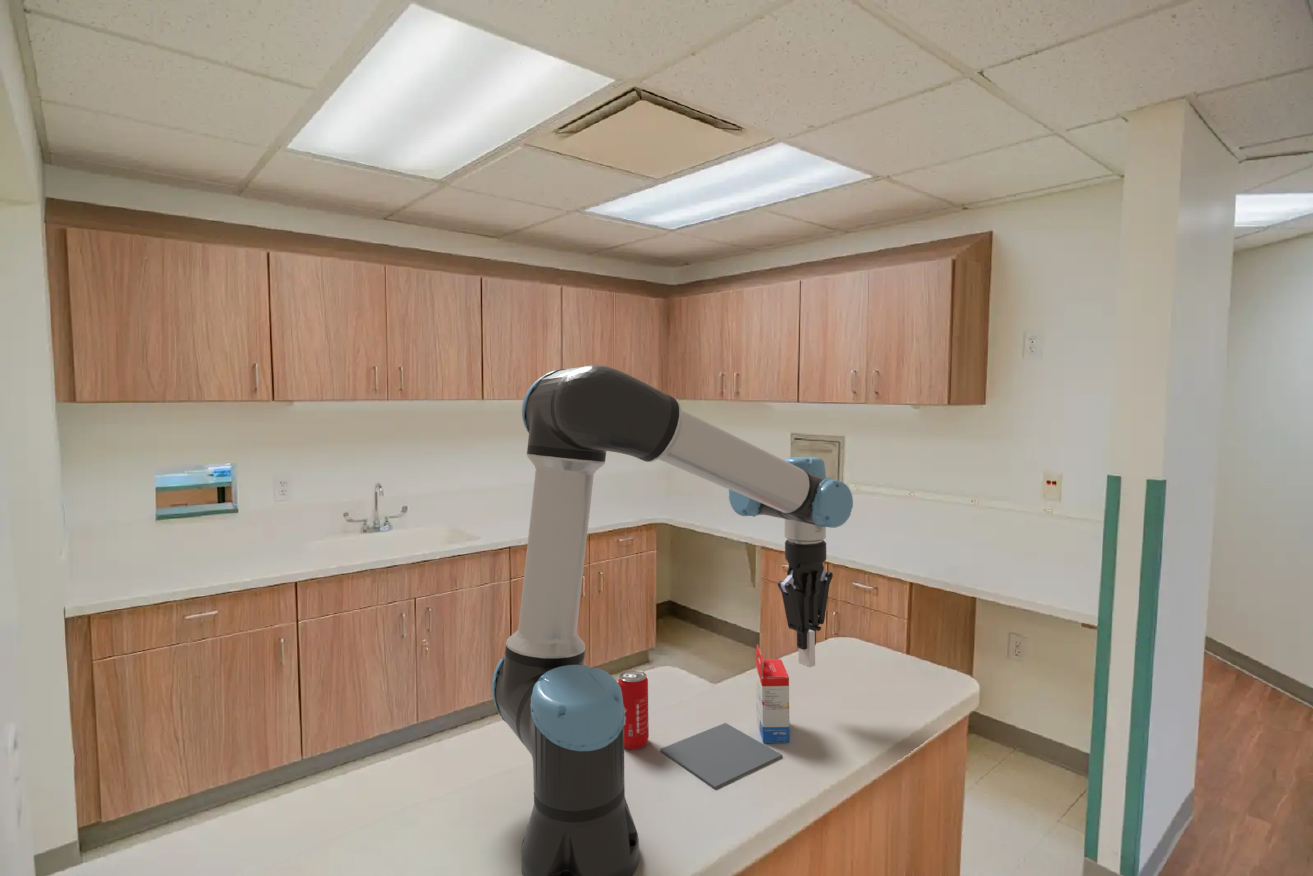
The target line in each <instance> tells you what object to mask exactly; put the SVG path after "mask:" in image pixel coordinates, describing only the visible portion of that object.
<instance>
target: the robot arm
mask: <svg viewBox="0 0 1313 876" xmlns="http://www.w3.org/2000/svg"><path fill="white" fill-rule="evenodd" d="M521 417H522V421H523V422H522V423H523V425H524V427H525V430H526V431H527V433H528V438H527V449H526V457H527V458H528V459H529V461H530V462H531V463H532V464H533V466H534V468H535V472H534V483H533V492H532V500H531V510H530V518H529V528H528V537H527V545H526V546H527V547H526V554H525V565H524V573H523V582H522V584H523V585H522V591H521V592H522V593H521V601H520V609H519V617H518V619H519V620H518V627H517V630H516V631H515V632H514V633H513V634H512V635H510V636H509V637H507V638H506V639H507V640H506V643H505V652H504V656H503V657H502V658H500V659H499V661H498V663H497V664H496V666H495V669H494V672H493V675H492V679H491V694H492V695H491V696H492V699H493V702H494V705H495V707H496V710H497V712H498V714H499V717H500V718H501V719H502V720H503V721H504V722H505V723H506V724H507V726H508V727H509V729H511V731H512V732H513V733H514V735H515V736H516V737H517V738H518V740H519V741H520V742H521V743H522V745H524V747H525V748H526V750H527V751H528V752H529V754H530V755H531V758H532V764H533V765H532V766H533V767H532V769H533V771H532V772H533V773H532V775H533V776H532V777H533V807H532V811H531V813H530V816H529V821H528V823H527V827H526V831H525V835H524V838H523V840H522V844H521V851H520V852H521V854H520V858H521V860H520V861H521V863H520V864H521V873H522V876H633V874H634V873H635V871H636V870H637V868H638V865H639V859H640V840H639V833H638V830H637V827H636V825H635V824H636V823H635V822H634V819H633V815H632V813H631V811H630V807H629V804H628V802H627V799H626V795H625V789H626V788H625V748H624V721H625V711H624V705H623V698H622V691H621V688H620V686H619V684H618V680H617V679H615V678H614V677H613V676H612V675H611V674H610V673H609V672H607V671H605V670H603V669H601V668H598V667H593V668H590V666H589V665H585V656H586V644H585V642H584V641H583V639H582V638H581V637H580V636H579V635H578V624H579V623H578V622H579V612H580V604H581V603H580V602H581V597H582V596H581V595H582V586H583V585H582V584H583V579H584V578H583V576H584V567H585V559H586V557H585V556H586V549H587V542H588V541H587V540H588V530H589V520H590V511H591V504H592V503H591V502H592V491H593V485H594V484H593V483H594V475H595V473H596V472H597V471H599V469H600V468H602V467H603V466H605V464H606V456H607V452H611V453H616V454H617V453H618V454H623V455H627V456H631V457H633V458H636V459H638V460H641V461H644V462H646V463H652V462H656V460H657V461H658V460H659V461H662V462H665V464H666V463H667V464H669V465H671V466H673V467H676V468H679V469H681V470H683V471H685V472H688V473H689V474H692V475H695V476H698V477H700V478H702V479H704V480H706V481H709V482H712V483H713V484H716V485H719V486H721V487H723V488H725V489H728V500H729V504H730V507H731V508H732V510H733V511H734V512H735V513H736V514H737V515H738V516H741V517H756V516H768V517H773V518H778V519H783V520H784V538H786V540H785V542H784V558H785V560H786V561H787V563H788V568H787V572H786V577H785V579H783V581H782V580H779V581H778V582H777V586H778V588H779V590H780V592H781V595H782V600H783V601H782V602H783V607H784V611H785V612H784V613H785V617H786V622H787V627H788V629H790V630H793V631H796V646H797V648H798V664H799V665H802V666H806V667H808V668H812V667H815V666H816V645H817V632H820V631H821V629H822V626H819V625H824V623H825V619H826V618H825V617H826V610H827V605H828V599H829V598H828V596H829V592H830V591H829V590H830V585H831V582H832V579H833V577H834V573H833V572H830V571H827V570H826V569H825V566H824V564H823V563H825V562H826V561H827V542H826V541H825V539H827V529H826V528H831V529H832V528H838V527H841V526H843V525H844V524H845V523H846V522H847V521H848V520H849V518H850V516H851V513H852V509H853V508H854V497H853V494H852V491H851V489H850V487H849V486H848V485H847V484H846V483H845V482H842V481H840V480H837V479H833V478H831V477H828V478H827V476H826V465H825V461H824V460H823V458H822V457H817V456H788V457H786V458H785V459H782V458H780V457H778V456H776V455H774V454H772V453H770V452H767V451H766V450H764V449H762V448H760V447H758V446H756V445H754V444H751V443H750V442H748V441H746V440H743V439H741V438H739V437H738V436H735V435H734V434H731V433H729V432H727V431H725V430H724V429H721V428H719V427H717V426H715V425H714V424H711V423H709V422H707V421H705V420H703V419H700V418H699V417H697V416H695V415H693V414H691V413H689V412H687V411H685V410H683V409H682V406H681V404H680V402H679V400H678V399H677V398H675V397H673V396H671V395H669V394H667V393H665V392H663V391H661V390H659V388H658V389H657V388H655V387H653V386H652V385H650V384H648V383H647V382H644V381H642V380H640V379H638V378H637V377H634V376H632V375H631V374H627V373H626V372H624V371H621V370H619V369H616V368H613V367H610V366H606V365H601V364H600V365H599V364H593V365H584V366H581V367H570V368H559V369H556V370H553V371H550V372H547V373H546V374H544V375H542V376H540V377H539V378H538V379H537V380H536V381H535V382H533V383H532V384H531V386H530V387H529V388H528V389H527V392H526V393H525V396H524V398H523V401H522V405H521Z"/></svg>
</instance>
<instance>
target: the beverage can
mask: <svg viewBox="0 0 1313 876" xmlns="http://www.w3.org/2000/svg"><path fill="white" fill-rule="evenodd" d="M617 682H618V684H619V686H620V688H621V691H622V698H623V705H624V711H625V721H624V749H627V750H635V751H636V750H641V749H643V748H644V747H646V745H647V742H648V739H649V738H650V737H649V724H650V723H649V680H648V678H647V674H646V672H644V671H642V670H637V669H633V670H632V669H631V670H626V671H624V672H621V673H620V674H619V678H618V680H617Z"/></svg>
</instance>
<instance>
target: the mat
mask: <svg viewBox="0 0 1313 876" xmlns="http://www.w3.org/2000/svg"><path fill="white" fill-rule="evenodd" d="M659 751H660V753H662V754H664V756H666V757H668V758H669V759H671V760H672V761H673V762H675V763H676V764H678V765H679V766H680V767H682V768H683V769H685V770H686V771H688V772H690V774H692V775H693V776H695V777H697V778H698V779H699V780H700V781H702V782H703V783H705V784H707V785H708V786H709V787H710V788H712V789H714V790H716V789H719V788H721V787H722V786H726V785H727V784H730V783H732V782H734V781H735V780H737V779H739V778H742V777H743V776H746V775H748V774H750V773H752V772H754V771H756V770H759V769H760V768H763V767H765V766H766V765H769V764H771V763H773V762H775V761H777V760H780V759H782V758H783V753H782V754H781V753H780V752H778V751H776V750H775V749H773V748H771V747H769V746H767V745H766V744H765V743H763V742H760V741H758V740H757V739H755V738H754V737H752V736H750V735H748V734H746V733H744V732H743V731H741V730H739V729H737V728H736V727H733V726H732V725H730V724H728V723H727V722H724V723H722V724H719V725H717V726H714V727H711V728H709V729H707V730H704V731H702V732H699V733H696V734H694V735H691V736H690V737H686V738H684V739H682V740H679V741H676V742H674V743H672V744H669V745H666V746H664V747H661V748H660V750H659Z"/></svg>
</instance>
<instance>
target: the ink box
mask: <svg viewBox="0 0 1313 876" xmlns="http://www.w3.org/2000/svg"><path fill="white" fill-rule="evenodd" d="M755 650H756V651H755V658H756V659H755V664H756V665H755V666H756V667H755V668H756V669H755V673H756V675H755V677H756V679H755V681H756V683H755V684H756V688H755V689H756V723H757V727H758V729H759V733H760V736H761V740H762V744H775V743H776V744H783V743H785V744H788V743H790V742H791V736H790V734H791V733H790V732H791V731H790V729H791V728H790V726H791V725H790V676H789V674H788V672H787V670H786V668H785V665H784V663H783V660H782V659H779V658H778V659H777V658H764V657H763V655H762V651H761V648H760V647H759V644H756V649H755Z"/></svg>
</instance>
